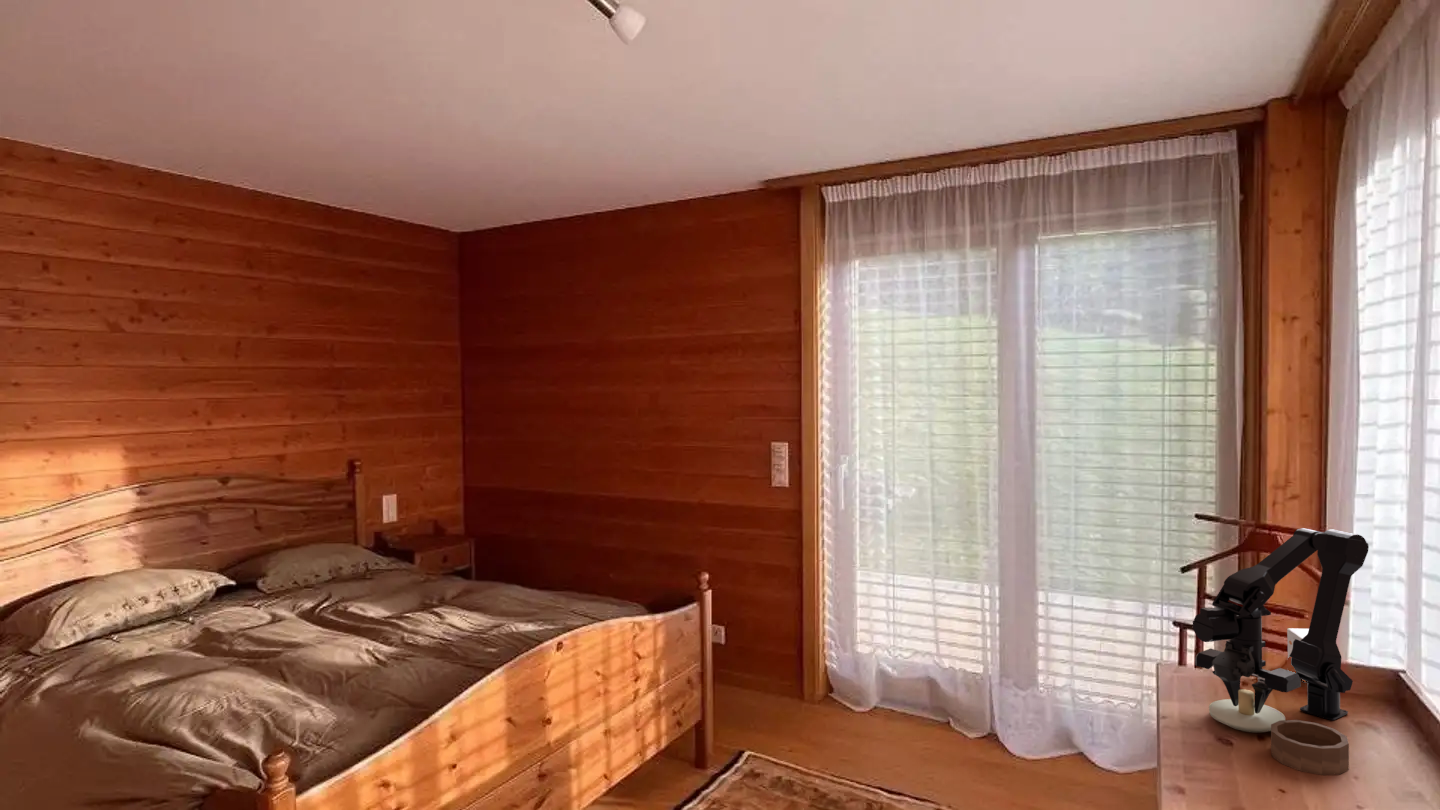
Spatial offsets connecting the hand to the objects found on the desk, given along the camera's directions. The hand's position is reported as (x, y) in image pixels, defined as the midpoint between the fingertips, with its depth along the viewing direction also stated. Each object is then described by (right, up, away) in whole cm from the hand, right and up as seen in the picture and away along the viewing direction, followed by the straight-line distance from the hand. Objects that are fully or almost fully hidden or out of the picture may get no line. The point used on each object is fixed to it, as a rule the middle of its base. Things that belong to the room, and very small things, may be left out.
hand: (1246, 709), depth 177 cm
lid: (0, -3, 0) cm, 3 cm away
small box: (+29, -1, +23) cm, 37 cm away
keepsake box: (+2, -4, -16) cm, 16 cm away
